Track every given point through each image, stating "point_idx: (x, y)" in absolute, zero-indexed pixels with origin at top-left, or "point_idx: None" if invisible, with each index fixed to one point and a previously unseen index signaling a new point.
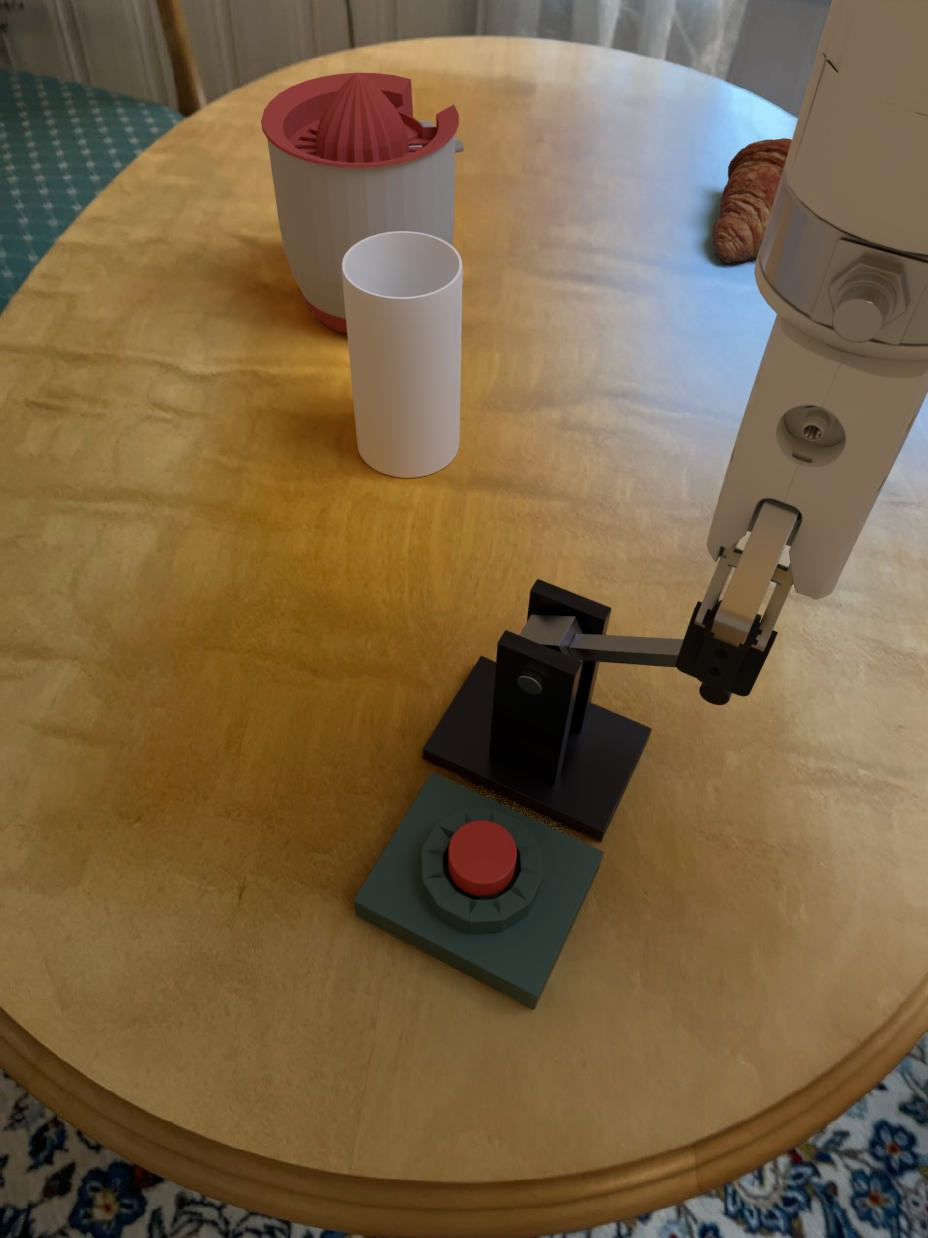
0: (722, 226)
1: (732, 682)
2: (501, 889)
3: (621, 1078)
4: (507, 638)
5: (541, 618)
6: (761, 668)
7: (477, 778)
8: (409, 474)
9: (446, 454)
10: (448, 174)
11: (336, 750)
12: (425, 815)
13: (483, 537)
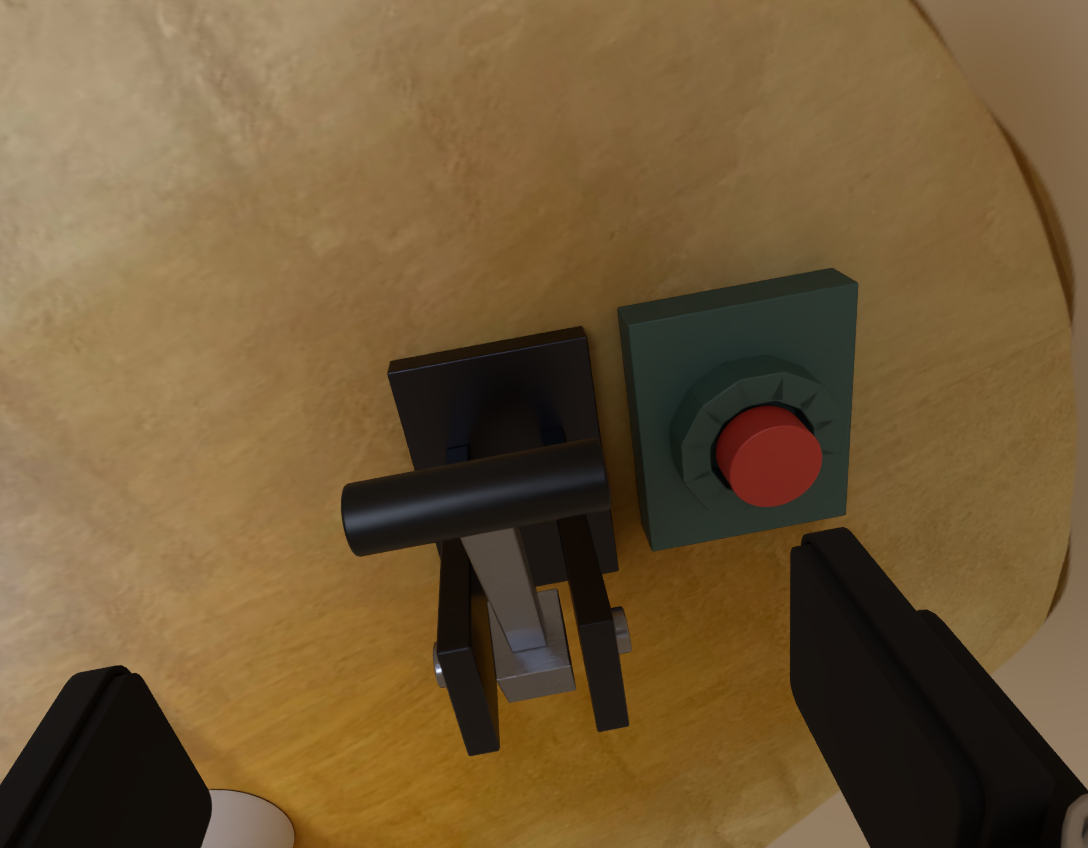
0: None
1: (952, 632)
2: (782, 409)
3: (862, 123)
4: (611, 721)
5: (515, 695)
6: (930, 630)
7: None
8: (267, 808)
9: None
10: None
11: (660, 623)
12: (710, 522)
13: (272, 696)
